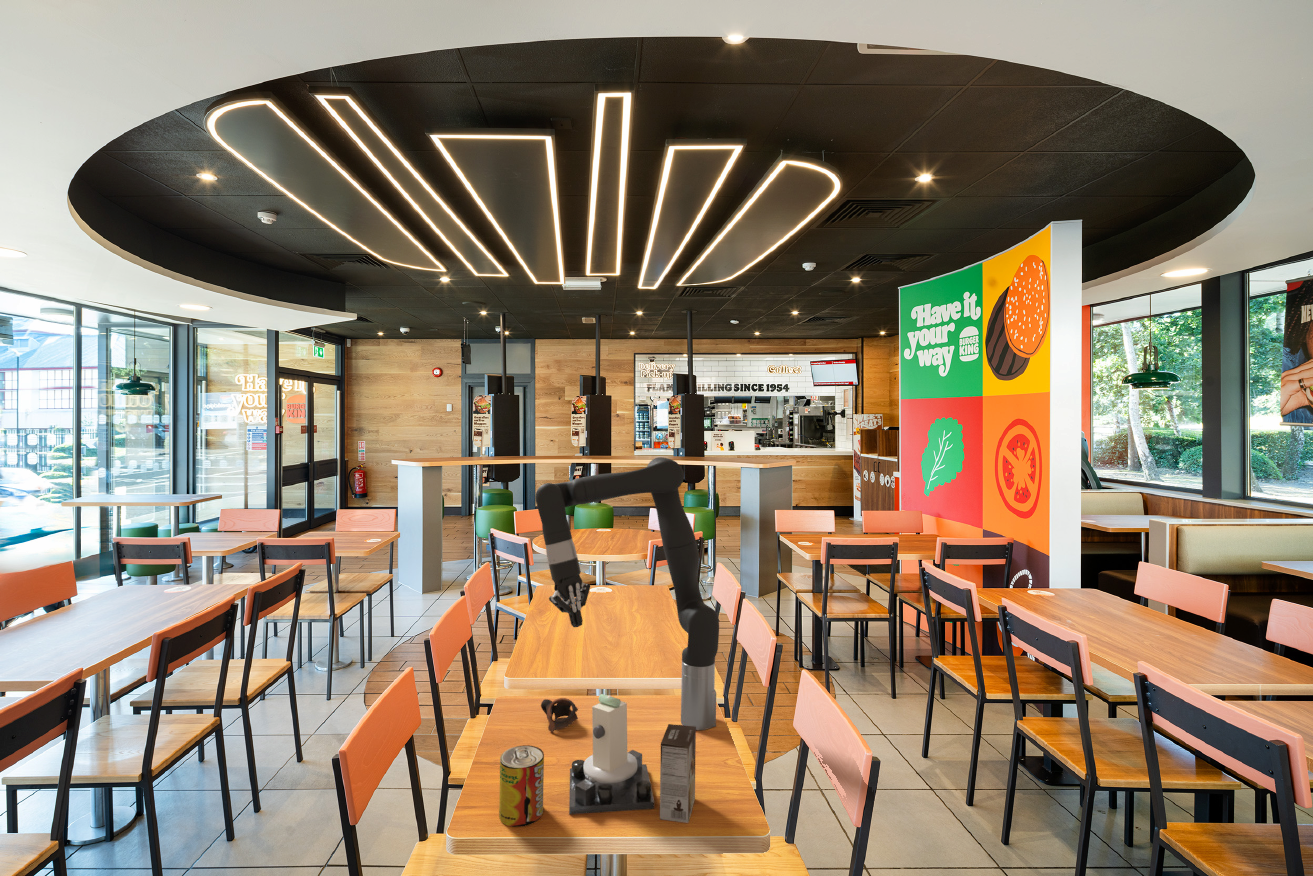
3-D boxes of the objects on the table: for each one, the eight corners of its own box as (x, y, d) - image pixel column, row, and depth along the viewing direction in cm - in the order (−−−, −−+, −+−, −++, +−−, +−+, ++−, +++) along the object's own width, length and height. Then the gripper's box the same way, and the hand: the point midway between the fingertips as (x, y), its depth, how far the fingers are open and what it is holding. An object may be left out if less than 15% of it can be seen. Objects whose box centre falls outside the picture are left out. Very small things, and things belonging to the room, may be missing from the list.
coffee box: (666, 794, 135) (668, 722, 135) (695, 798, 133) (696, 725, 133) (658, 820, 126) (660, 742, 126) (689, 824, 124) (690, 746, 124)
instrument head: (609, 753, 144) (608, 681, 144) (648, 768, 137) (647, 692, 137) (571, 775, 134) (570, 698, 135) (612, 793, 127) (611, 712, 127)
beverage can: (502, 831, 121) (504, 771, 121) (495, 806, 129) (496, 750, 129) (547, 820, 125) (548, 762, 125) (537, 796, 133) (538, 742, 133)
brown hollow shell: (585, 721, 170) (584, 702, 166) (566, 749, 162) (565, 730, 158) (550, 702, 174) (548, 684, 170) (529, 729, 167) (527, 710, 163)
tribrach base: (646, 769, 144) (646, 749, 144) (654, 809, 129) (654, 786, 129) (569, 774, 142) (570, 752, 142) (569, 815, 127) (569, 791, 127)
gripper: (552, 563, 149) (568, 634, 147) (590, 552, 159) (605, 617, 157) (533, 567, 153) (548, 635, 152) (571, 555, 164) (586, 619, 162)
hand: (577, 626), depth 154 cm, fingers closed
